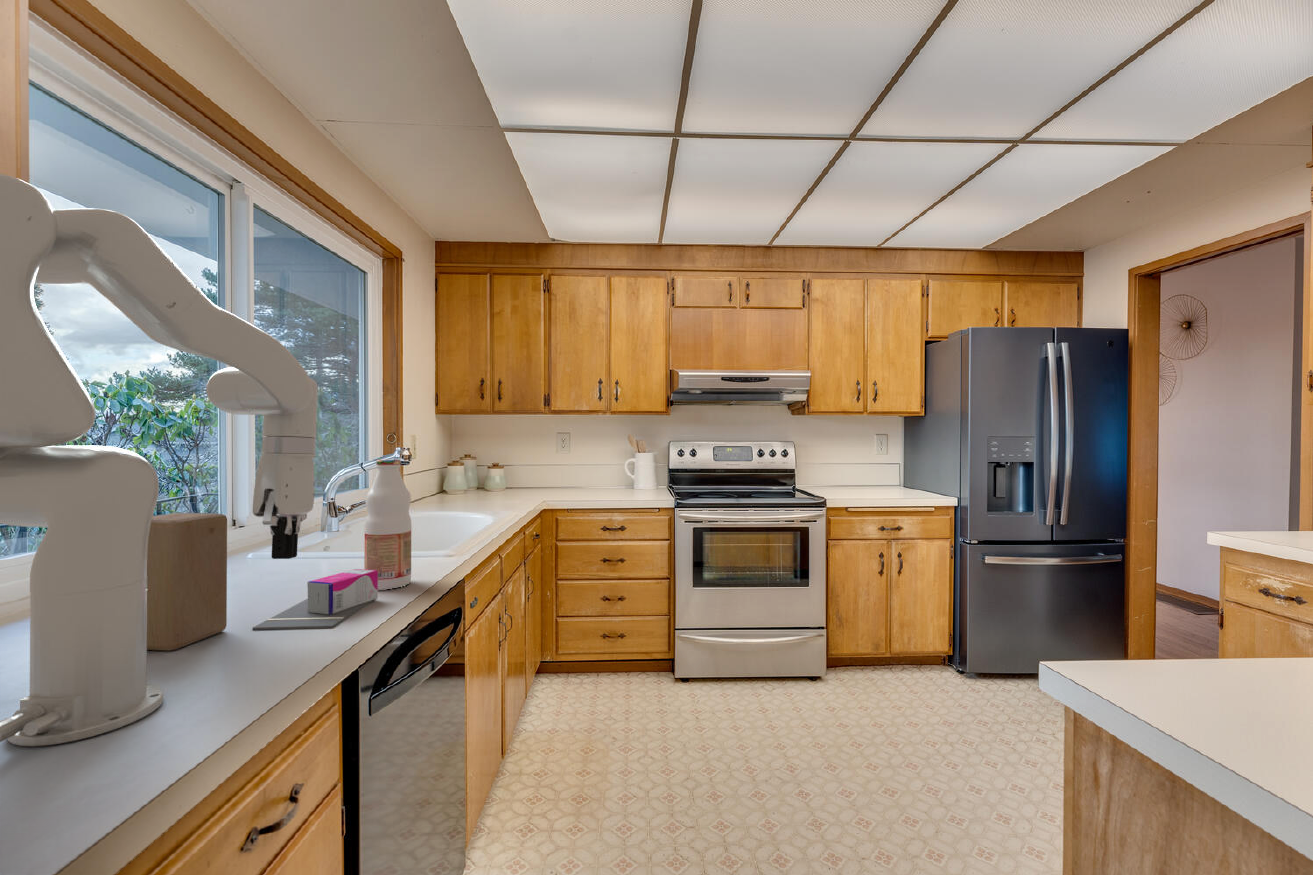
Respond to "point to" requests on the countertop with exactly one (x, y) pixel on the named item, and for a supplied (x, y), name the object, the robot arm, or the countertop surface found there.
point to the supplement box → (342, 591)
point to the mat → (306, 618)
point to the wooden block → (186, 579)
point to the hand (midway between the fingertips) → (284, 557)
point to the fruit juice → (388, 527)
